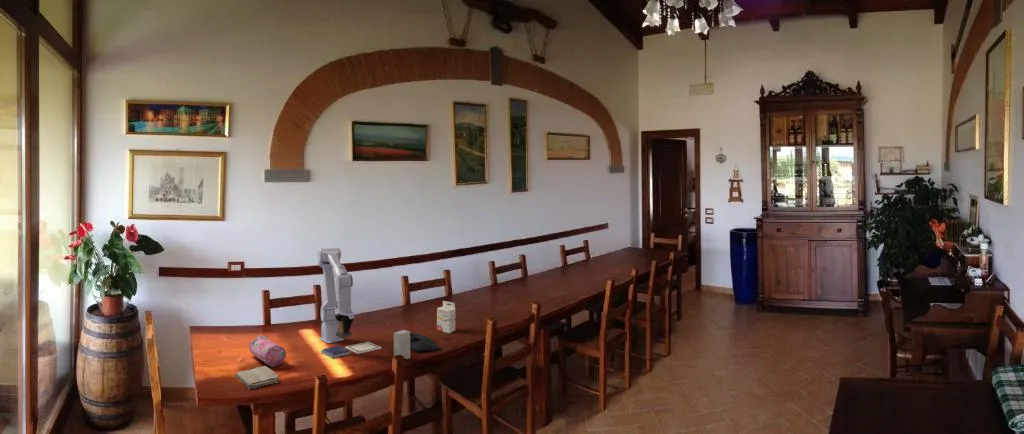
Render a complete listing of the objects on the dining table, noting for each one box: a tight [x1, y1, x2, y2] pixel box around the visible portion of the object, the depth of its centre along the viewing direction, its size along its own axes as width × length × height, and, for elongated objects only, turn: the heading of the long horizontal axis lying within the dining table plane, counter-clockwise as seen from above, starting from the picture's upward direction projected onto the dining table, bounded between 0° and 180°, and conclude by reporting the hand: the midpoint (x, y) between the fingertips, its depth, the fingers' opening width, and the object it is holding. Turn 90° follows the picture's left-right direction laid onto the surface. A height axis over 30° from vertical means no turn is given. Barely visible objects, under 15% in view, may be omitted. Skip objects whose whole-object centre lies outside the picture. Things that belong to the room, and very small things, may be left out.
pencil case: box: [248, 335, 287, 368], centre depth 255 cm, size 21×9×9 cm, turn 41°
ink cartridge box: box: [436, 300, 456, 334], centre depth 304 cm, size 9×5×15 cm, turn 58°
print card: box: [344, 341, 382, 355], centre depth 274 cm, size 12×12×1 cm
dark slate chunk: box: [409, 331, 442, 353], centre depth 279 cm, size 15×22×5 cm
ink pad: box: [321, 345, 352, 359], centre depth 266 cm, size 10×9×2 cm
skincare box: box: [393, 329, 411, 360], centre depth 260 cm, size 6×4×12 cm
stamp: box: [336, 321, 352, 339], centre depth 267 cm, size 5×5×6 cm
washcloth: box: [234, 365, 280, 390], centre depth 233 cm, size 12×18×3 cm, turn 43°
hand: (344, 331), depth 267 cm, fingers closed on stamp, 4 cm apart
